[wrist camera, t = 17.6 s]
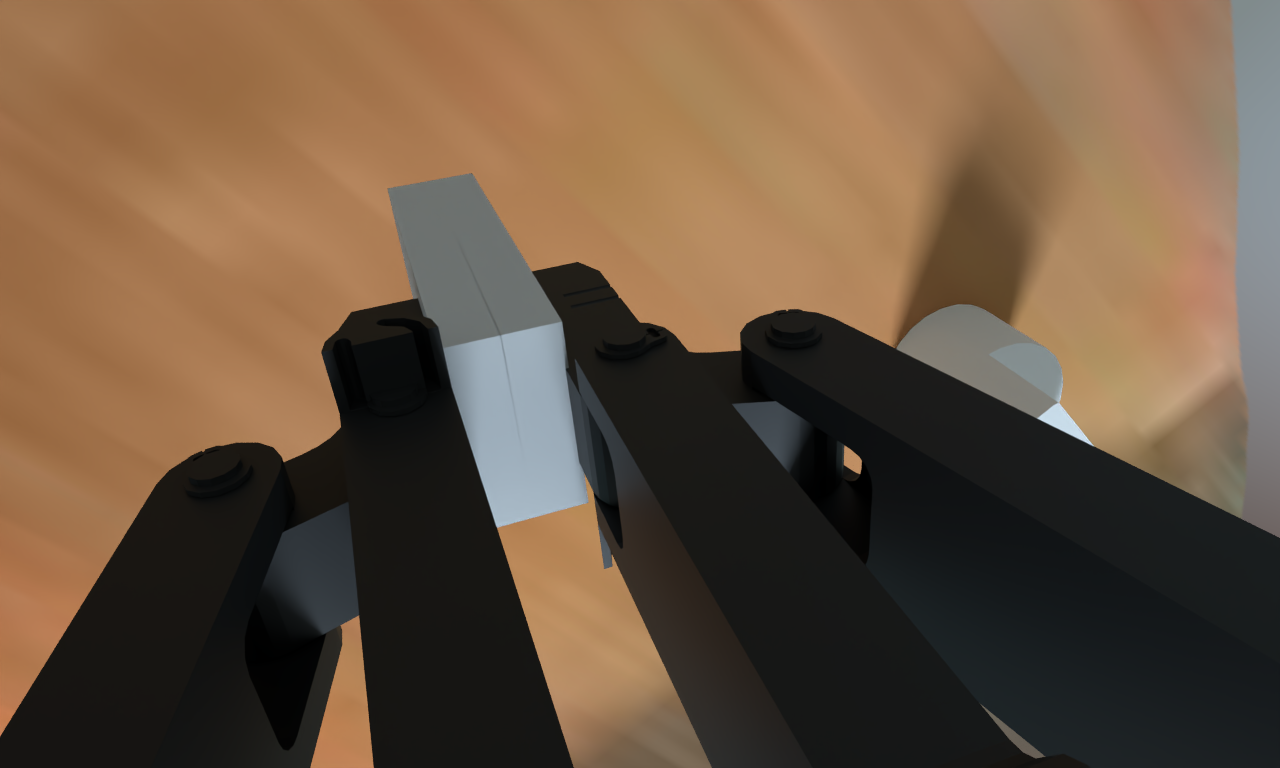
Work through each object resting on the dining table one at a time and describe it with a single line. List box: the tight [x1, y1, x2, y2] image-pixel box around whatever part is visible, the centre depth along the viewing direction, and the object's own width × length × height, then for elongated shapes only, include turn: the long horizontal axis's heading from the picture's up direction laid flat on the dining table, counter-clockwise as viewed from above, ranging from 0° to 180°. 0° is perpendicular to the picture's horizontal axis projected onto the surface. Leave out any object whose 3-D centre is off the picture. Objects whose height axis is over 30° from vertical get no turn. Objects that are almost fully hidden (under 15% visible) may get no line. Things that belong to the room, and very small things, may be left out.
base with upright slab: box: [896, 304, 1093, 446], centre depth 57 cm, size 9×9×12 cm
